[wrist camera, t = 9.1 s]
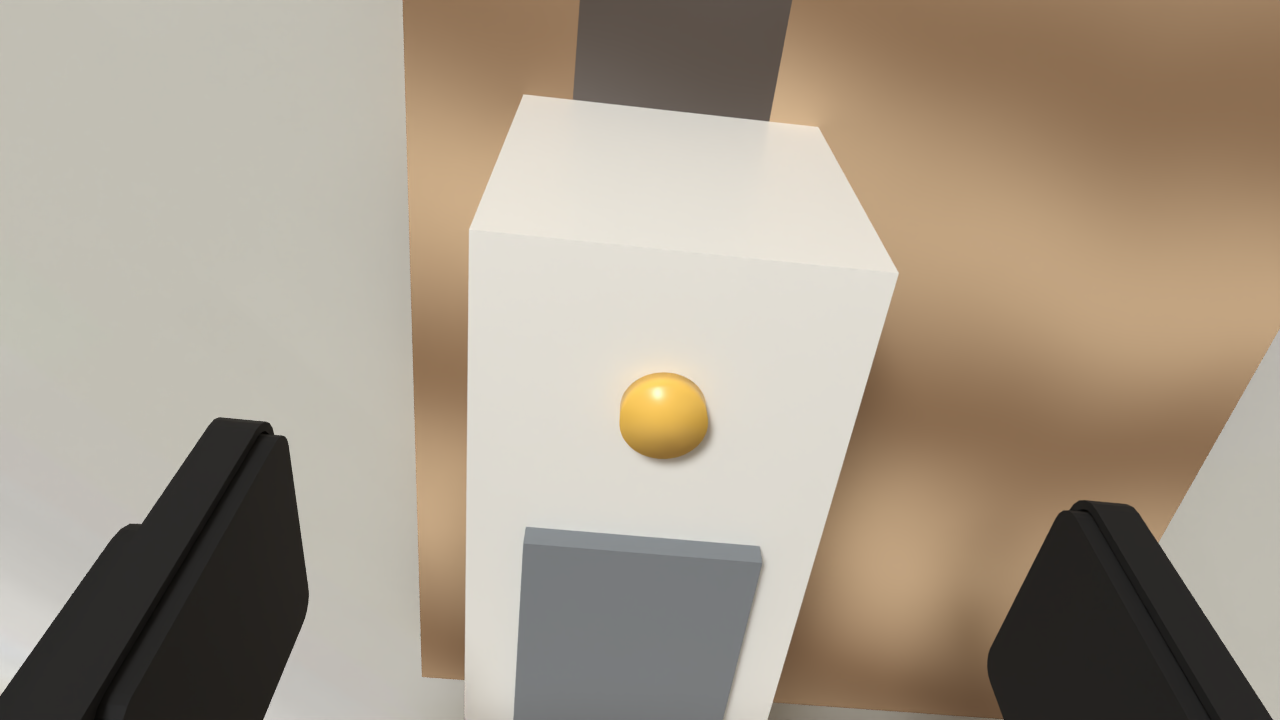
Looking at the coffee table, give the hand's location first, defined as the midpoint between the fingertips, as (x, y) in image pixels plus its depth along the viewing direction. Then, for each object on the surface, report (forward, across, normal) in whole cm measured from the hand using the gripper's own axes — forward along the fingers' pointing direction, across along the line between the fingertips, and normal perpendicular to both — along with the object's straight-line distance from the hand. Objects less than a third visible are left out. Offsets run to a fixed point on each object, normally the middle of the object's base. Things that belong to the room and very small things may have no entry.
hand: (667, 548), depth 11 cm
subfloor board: (+6, -3, +1) cm, 7 cm away
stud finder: (+5, 0, +1) cm, 5 cm away
